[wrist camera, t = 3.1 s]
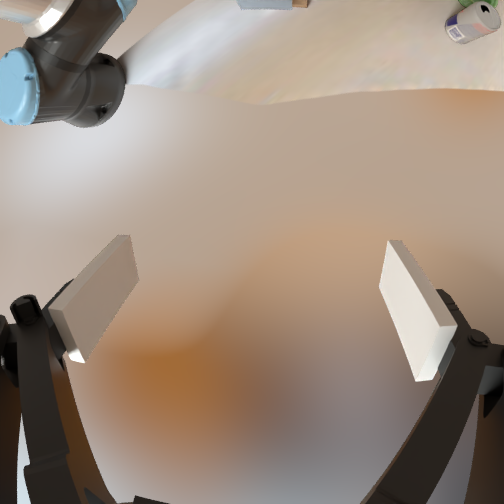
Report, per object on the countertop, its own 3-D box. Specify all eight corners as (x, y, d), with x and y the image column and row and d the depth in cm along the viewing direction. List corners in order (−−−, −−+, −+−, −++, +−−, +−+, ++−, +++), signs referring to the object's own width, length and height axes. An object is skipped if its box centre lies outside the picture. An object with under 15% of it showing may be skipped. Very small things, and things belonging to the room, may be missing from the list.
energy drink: (463, 18, 35) (494, 1, 24) (472, 44, 36) (506, 32, 25) (440, 18, 36) (469, -2, 25) (449, 44, 38) (481, 29, 27)
